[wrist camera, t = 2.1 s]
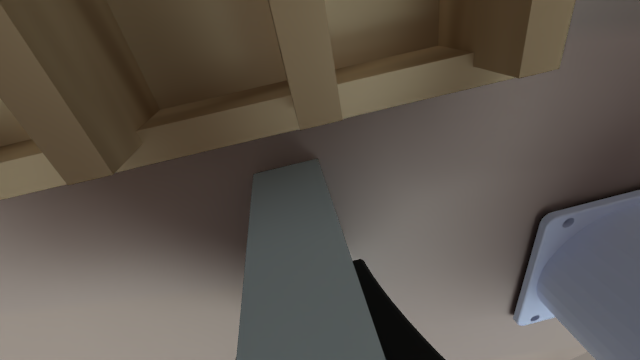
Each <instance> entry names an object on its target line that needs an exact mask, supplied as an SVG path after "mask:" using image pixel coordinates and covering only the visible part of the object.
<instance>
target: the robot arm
mask: <svg viewBox="0 0 640 360" xmlns="http://www.w3.org/2000/svg"><path fill="white" fill-rule="evenodd" d="M352 262H353V265H354V268H355V270H356V273H357V276H358V279H359V282H360V285H361V288H362V291H363V294H364V297H365V300H366V303H367V306H368V309H369V312H370V315H371V318H372V321H373V324H374V327H375V330H376V332H377V335H378V338H379V341H380V344H381V347H382V350H383V353H384V356H385V359H386V360H445V359H444V358H443V357H442V356H441V355H440V354H439V353H438V352H437V351H436V350H435V349H434V348H433V347H432V346H431V345H430V344H429V343H428V342H427V341H426V339H425V338H424V337H423V336H422V335H421V334H420V333H419V332H418V331H417V330H416V329H415V328H414V326H413V325H412V324H411V323H410V322H409V321H408V320H407V319H406V317H405V316H404V315H403V314H402V313H401V311H400V310H399V309H398V308H397V307H396V305H395V304H394V303H393V302H392V301H391V299H390V298H389V297H388V296H387V294H386V293H385V292H384V290H383V289H382V288H381V286H380V285H379V284H378V282H377V281H376V279H375V278H374V276H373V275H372V273H371V272H370V270H369V269H368V267H367V265H366V264H365V262H364V261H363V260H361V259H359V260H355V261H352ZM554 317H556V318H557V319H558V320H559V321H560V322H561V323H562V324H563V326H564V327H565V328H566V329H567V330H568V331H569V332H570V333H571V334H572V335H573V336H574V337H575V338H576V339H577V340H578V341H579V342H580V344H581V345H582V346H583V347H584V348H585V349H586V350H587V351H588V352H589V353H590V354H591V355H592V356H593V357H594V358H595V359H596V360H640V190H636V191H632V192H628V193H625V194H621V195H617V196H613V197H609V198H605V199H601V200H597V201H593V202H589V203H586V204H582V205H578V206H574V207H570V208H566V209H562V210H558V211H554V212H551V213H549V214H547V215H545V216H544V217H543V218H542V220H541V222H540V224H539V228H538V231H537V235H536V239H535V242H534V246H533V249H532V253H531V256H530V260H529V263H528V267H527V270H526V274H525V278H524V281H523V285H522V288H521V292H520V295H519V299H518V302H517V306H516V309H515V313H514V317H513V319H514V320H515V322H516V323H517V324H518V325H521V326H524V325H528V324H532V323H535V322H539V321H543V320H546V319H550V318H554ZM236 358H237V357H236Z"/></svg>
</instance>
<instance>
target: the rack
mask: <svg viewBox="0 0 640 360" xmlns="http://www.w3.org/2000/svg"><path fill="white" fill-rule="evenodd" d="M575 1H576V0H0V200H3V199H7V198H11V197H16V196H20V195H24V194H28V193H32V192H37V191H41V190H45V189H49V188H53V187H58V186H62V185H66V184H67V185H72V184H76V183H80V182H85V181H89V180H93V179H97V178H102V177H106V176H110V175H113V174H114V173H117V172H121V171H125V170H129V169H134V168H138V167H142V166H146V165H150V164H155V163H159V162H163V161H167V160H172V159H176V158H180V157H184V156H188V155H193V154H197V153H201V152H205V151H209V150H214V149H218V148H222V147H226V146H231V145H235V144H239V143H243V142H247V141H252V140H256V139H260V138H264V137H268V136H273V135H277V134H281V133H285V132H290V131H294V130H298V129H300V130H304V129H308V128H312V127H316V126H321V125H325V124H329V123H333V122H337V121H342V120H343V119H344V118H349V117H353V116H357V115H361V114H365V113H370V112H374V111H378V110H382V109H387V108H391V107H395V106H399V105H403V104H408V103H412V102H416V101H420V100H424V99H429V98H433V97H437V96H441V95H446V94H450V93H454V92H458V91H462V90H467V89H471V88H475V87H479V86H483V85H488V84H492V83H496V82H500V81H505V80H509V79H513V78H523V77H527V76H531V75H535V74H540V73H544V72H548V71H552V70H556V69H559V68H560V63H561V59H562V55H563V51H564V47H565V42H566V38H567V34H568V30H569V26H570V22H571V17H572V13H573V9H574V5H575Z"/></svg>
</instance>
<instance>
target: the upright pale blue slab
mask: <svg viewBox="0 0 640 360" xmlns="http://www.w3.org/2000/svg"><path fill="white" fill-rule="evenodd" d="M236 360H386V359H385V356H384V353H383V350H382V347H381V344H380V341H379V338H378V335H377V332H376V330H375V327H374V324H373V321H372V318H371V315H370V312H369V309H368V306H367V303H366V300H365V297H364V294H363V291H362V288H361V285H360V282H359V279H358V276H357V273H356V270H355V268H354V265H353V262H352V259H351V256H350V253H349V250H348V247H347V244H346V241H345V238H344V235H343V232H342V229H341V226H340V223H339V220H338V217H337V214H336V211H335V208H334V206H333V203H332V200H331V197H330V194H329V191H328V188H327V185H326V182H325V179H324V176H323V173H322V170H321V167H320V164H319V161H318V159H314V160H310V161H306V162H301V163H297V164H293V165H289V166H285V167H281V168H277V169H272V170H268V171H264V172H260V173H256V174H253V184H252V195H251V206H250V217H249V228H248V239H247V249H246V260H245V271H244V282H243V293H242V303H241V314H240V325H239V336H238V347H237V358H236Z"/></svg>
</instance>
